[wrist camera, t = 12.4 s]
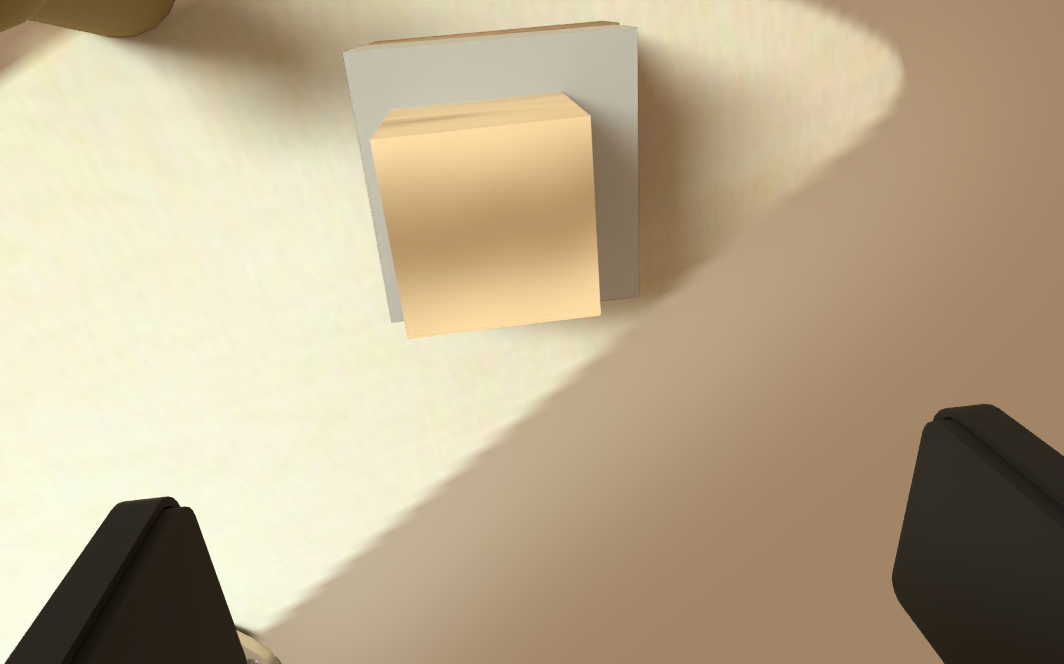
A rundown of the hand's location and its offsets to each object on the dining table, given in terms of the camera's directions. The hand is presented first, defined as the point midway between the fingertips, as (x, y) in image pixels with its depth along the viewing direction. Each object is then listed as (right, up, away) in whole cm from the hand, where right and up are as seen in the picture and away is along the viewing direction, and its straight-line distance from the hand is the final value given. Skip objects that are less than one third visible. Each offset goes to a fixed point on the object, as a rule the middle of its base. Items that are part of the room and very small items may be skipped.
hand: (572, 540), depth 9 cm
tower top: (-2, +10, +20) cm, 22 cm away
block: (-2, +8, +16) cm, 18 cm away
